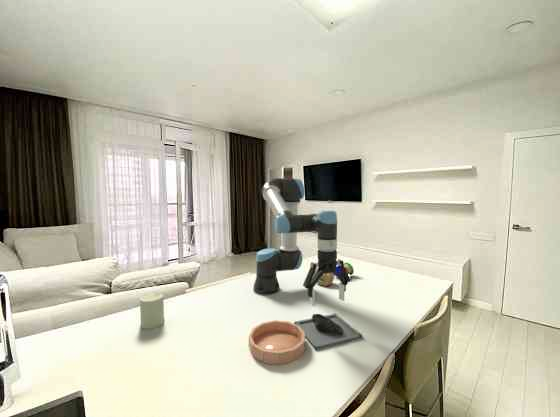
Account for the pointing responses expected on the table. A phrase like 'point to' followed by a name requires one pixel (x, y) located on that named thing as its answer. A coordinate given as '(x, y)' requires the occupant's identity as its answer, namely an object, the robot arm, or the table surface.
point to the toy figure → (347, 267)
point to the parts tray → (328, 333)
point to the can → (152, 310)
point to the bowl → (277, 342)
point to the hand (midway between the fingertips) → (327, 302)
